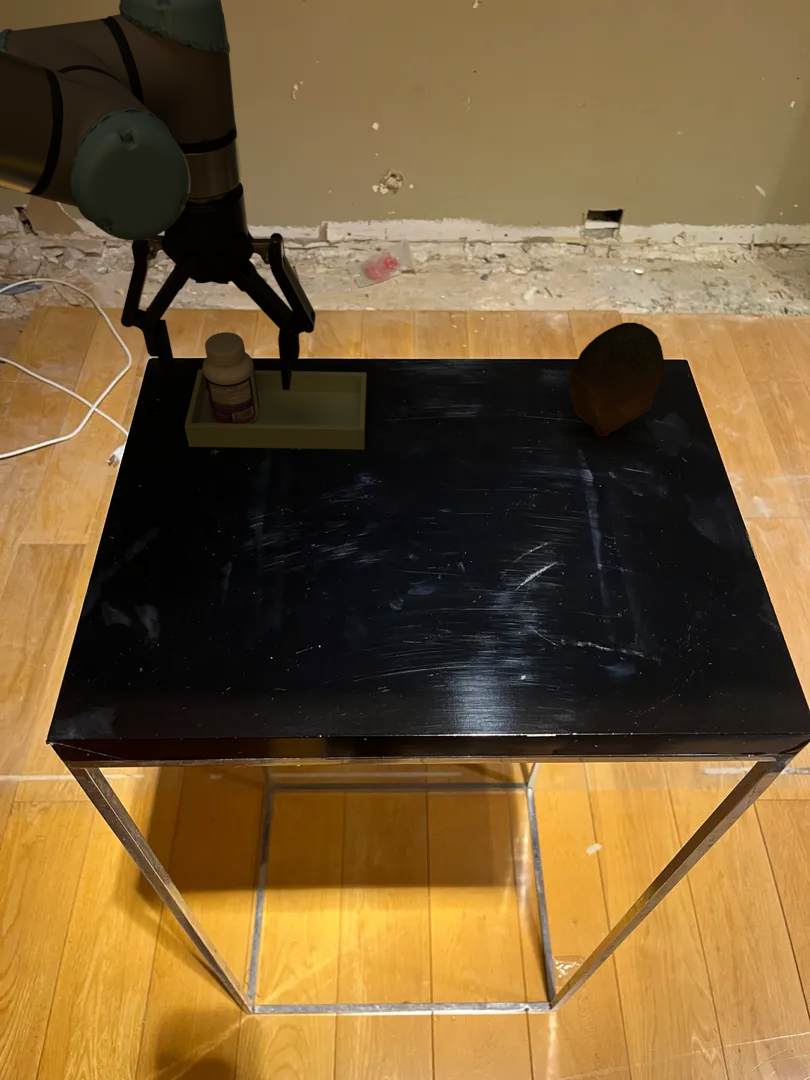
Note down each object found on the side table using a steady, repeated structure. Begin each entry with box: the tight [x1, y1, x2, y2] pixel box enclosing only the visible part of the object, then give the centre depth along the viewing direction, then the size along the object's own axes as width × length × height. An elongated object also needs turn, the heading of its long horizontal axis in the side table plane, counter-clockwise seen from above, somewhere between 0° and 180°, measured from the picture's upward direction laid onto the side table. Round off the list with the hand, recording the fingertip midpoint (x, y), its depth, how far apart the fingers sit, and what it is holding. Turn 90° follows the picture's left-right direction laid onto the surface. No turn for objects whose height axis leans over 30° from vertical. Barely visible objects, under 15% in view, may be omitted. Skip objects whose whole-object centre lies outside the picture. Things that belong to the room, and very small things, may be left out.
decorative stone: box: [568, 322, 666, 437], centre depth 88 cm, size 10×6×15 cm, turn 90°
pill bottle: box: [202, 331, 260, 424], centre depth 89 cm, size 5×5×10 cm
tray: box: [184, 368, 368, 451], centre depth 93 cm, size 19×10×3 cm, turn 90°
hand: (228, 380), depth 89 cm, fingers open, 12 cm apart
